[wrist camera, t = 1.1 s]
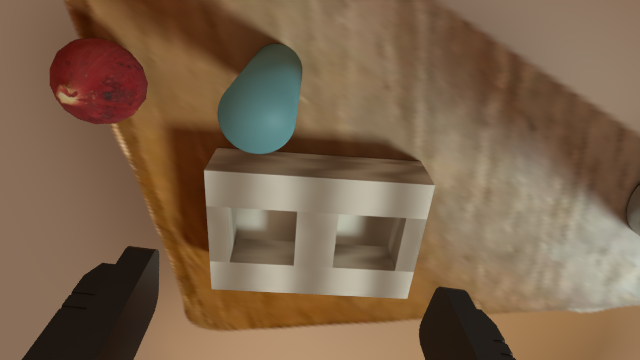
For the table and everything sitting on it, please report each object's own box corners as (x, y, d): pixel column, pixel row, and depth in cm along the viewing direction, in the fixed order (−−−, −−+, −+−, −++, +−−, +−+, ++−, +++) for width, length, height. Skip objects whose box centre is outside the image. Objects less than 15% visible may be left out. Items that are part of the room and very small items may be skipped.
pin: (303, 45, 29) (298, 81, 19) (300, 97, 31) (294, 156, 21) (251, 41, 29) (215, 75, 19) (251, 93, 31) (219, 151, 20)
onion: (165, 45, 29) (118, 65, 22) (157, 115, 32) (113, 153, 25) (86, 22, 28) (10, 35, 21) (84, 95, 31) (16, 129, 24)
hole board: (420, 161, 34) (435, 185, 30) (397, 266, 40) (407, 298, 36) (217, 147, 33) (203, 170, 29) (222, 257, 39) (211, 289, 35)
